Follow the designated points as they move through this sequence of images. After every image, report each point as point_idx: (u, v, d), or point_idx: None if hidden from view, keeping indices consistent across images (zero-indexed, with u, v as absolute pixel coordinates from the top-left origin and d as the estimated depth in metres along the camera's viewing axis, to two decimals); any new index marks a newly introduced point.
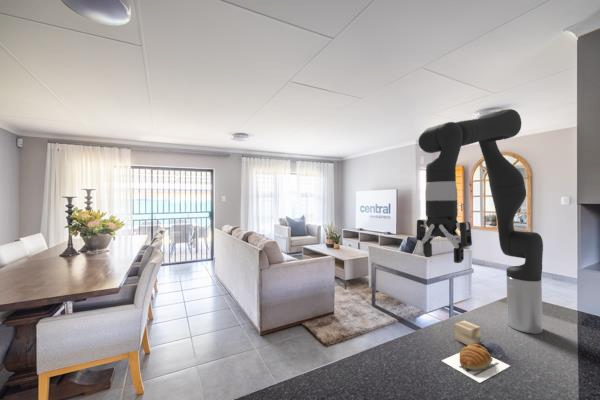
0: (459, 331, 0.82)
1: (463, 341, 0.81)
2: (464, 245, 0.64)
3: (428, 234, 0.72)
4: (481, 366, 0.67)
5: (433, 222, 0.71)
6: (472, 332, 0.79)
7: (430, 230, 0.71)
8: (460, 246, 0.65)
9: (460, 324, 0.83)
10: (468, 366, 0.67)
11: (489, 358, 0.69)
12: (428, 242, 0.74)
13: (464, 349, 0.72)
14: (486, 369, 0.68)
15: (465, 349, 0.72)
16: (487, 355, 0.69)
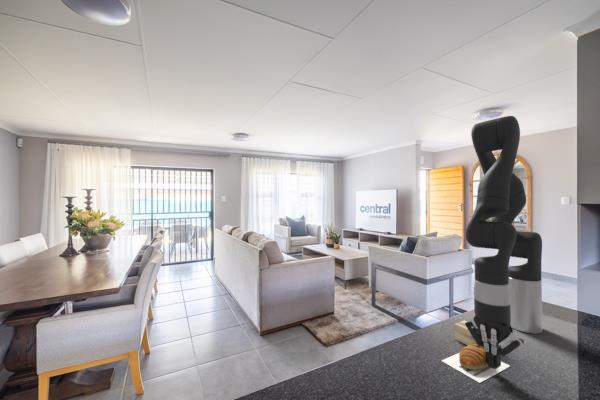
0: (459, 331, 0.82)
1: (463, 341, 0.81)
2: (503, 355, 0.64)
3: (485, 338, 0.67)
4: (481, 366, 0.67)
5: (483, 322, 0.68)
6: None
7: (484, 332, 0.67)
8: (498, 353, 0.65)
9: (460, 324, 0.83)
10: (468, 366, 0.67)
11: None
12: None
13: (464, 349, 0.72)
14: (486, 369, 0.68)
15: (465, 349, 0.72)
16: None
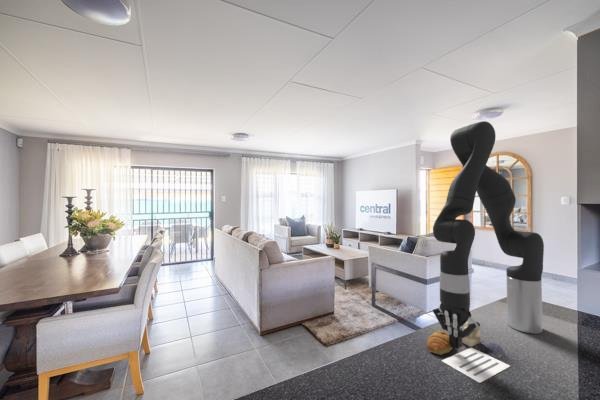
0: None
1: (463, 341, 0.81)
2: (462, 336, 0.72)
3: (448, 322, 0.76)
4: (446, 350, 0.75)
5: (447, 308, 0.77)
6: (472, 332, 0.79)
7: (447, 317, 0.76)
8: (459, 336, 0.74)
9: None
10: (435, 351, 0.75)
11: None
12: None
13: (431, 336, 0.80)
14: (486, 369, 0.68)
15: (432, 336, 0.80)
16: None
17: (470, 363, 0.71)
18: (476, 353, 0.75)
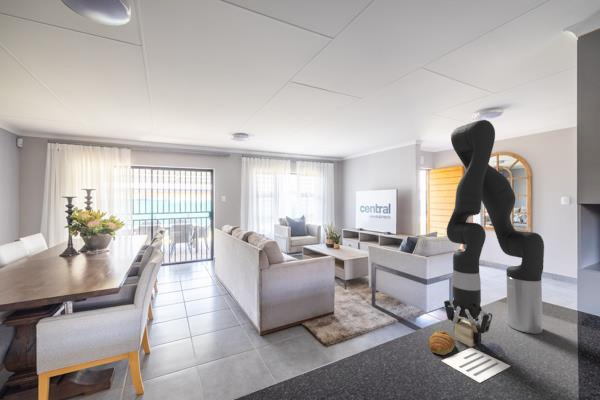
0: (459, 331, 0.82)
1: (463, 341, 0.81)
2: (482, 332, 0.77)
3: (457, 315, 0.83)
4: (449, 350, 0.75)
5: (459, 304, 0.83)
6: (472, 332, 0.79)
7: (458, 312, 0.83)
8: (479, 331, 0.78)
9: (460, 324, 0.83)
10: (438, 352, 0.74)
11: (453, 342, 0.78)
12: None
13: (433, 337, 0.80)
14: (486, 369, 0.68)
15: (433, 336, 0.80)
16: (452, 340, 0.78)
17: (470, 363, 0.71)
18: (476, 353, 0.75)
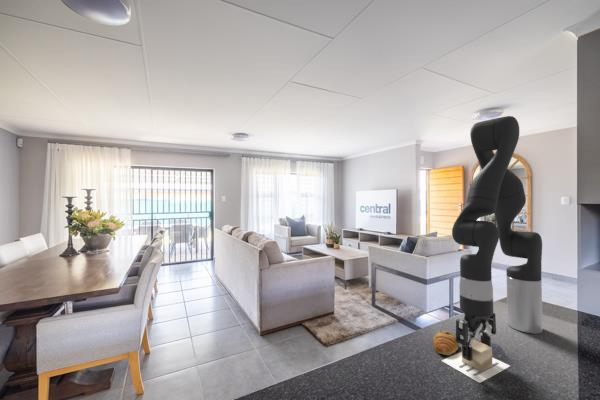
0: None
1: None
2: None
3: None
4: (453, 351, 0.75)
5: None
6: None
7: None
8: None
9: (474, 341, 0.72)
10: (444, 352, 0.74)
11: None
12: (485, 336, 0.72)
13: (437, 337, 0.79)
14: (486, 369, 0.68)
15: (437, 337, 0.79)
16: None
17: None
18: None
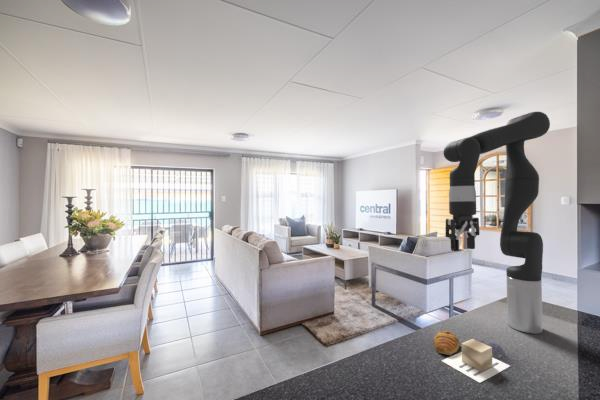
0: None
1: None
2: None
3: None
4: (454, 350, 0.75)
5: None
6: (465, 348, 0.70)
7: None
8: None
9: (474, 341, 0.72)
10: (445, 352, 0.74)
11: (458, 342, 0.78)
12: (470, 236, 0.87)
13: (437, 337, 0.80)
14: (486, 369, 0.68)
15: (438, 337, 0.79)
16: (457, 339, 0.78)
17: None
18: None
